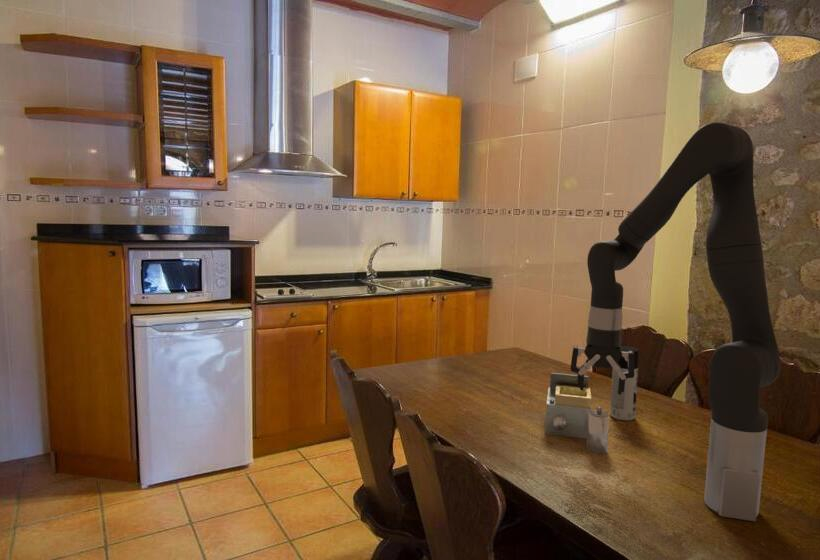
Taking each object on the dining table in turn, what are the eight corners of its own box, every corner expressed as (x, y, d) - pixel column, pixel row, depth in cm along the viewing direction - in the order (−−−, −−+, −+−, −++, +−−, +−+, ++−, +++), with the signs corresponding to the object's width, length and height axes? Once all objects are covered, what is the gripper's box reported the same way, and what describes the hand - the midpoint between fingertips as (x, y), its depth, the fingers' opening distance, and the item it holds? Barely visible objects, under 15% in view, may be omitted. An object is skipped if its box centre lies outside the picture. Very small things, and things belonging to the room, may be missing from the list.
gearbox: (589, 443, 133) (592, 393, 131) (544, 438, 136) (546, 388, 134) (587, 419, 149) (590, 374, 147) (547, 414, 152) (549, 370, 150)
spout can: (608, 455, 126) (610, 412, 125) (586, 452, 128) (589, 409, 126) (606, 447, 131) (609, 405, 130) (586, 444, 132) (588, 403, 131)
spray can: (637, 422, 147) (642, 352, 144) (611, 420, 148) (616, 350, 146) (632, 413, 153) (637, 346, 151) (607, 411, 155) (611, 344, 152)
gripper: (573, 326, 124) (569, 393, 126) (639, 331, 120) (633, 400, 122) (573, 319, 131) (569, 383, 133) (635, 324, 127) (630, 389, 129)
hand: (600, 391), depth 128 cm, fingers open, 8 cm apart
